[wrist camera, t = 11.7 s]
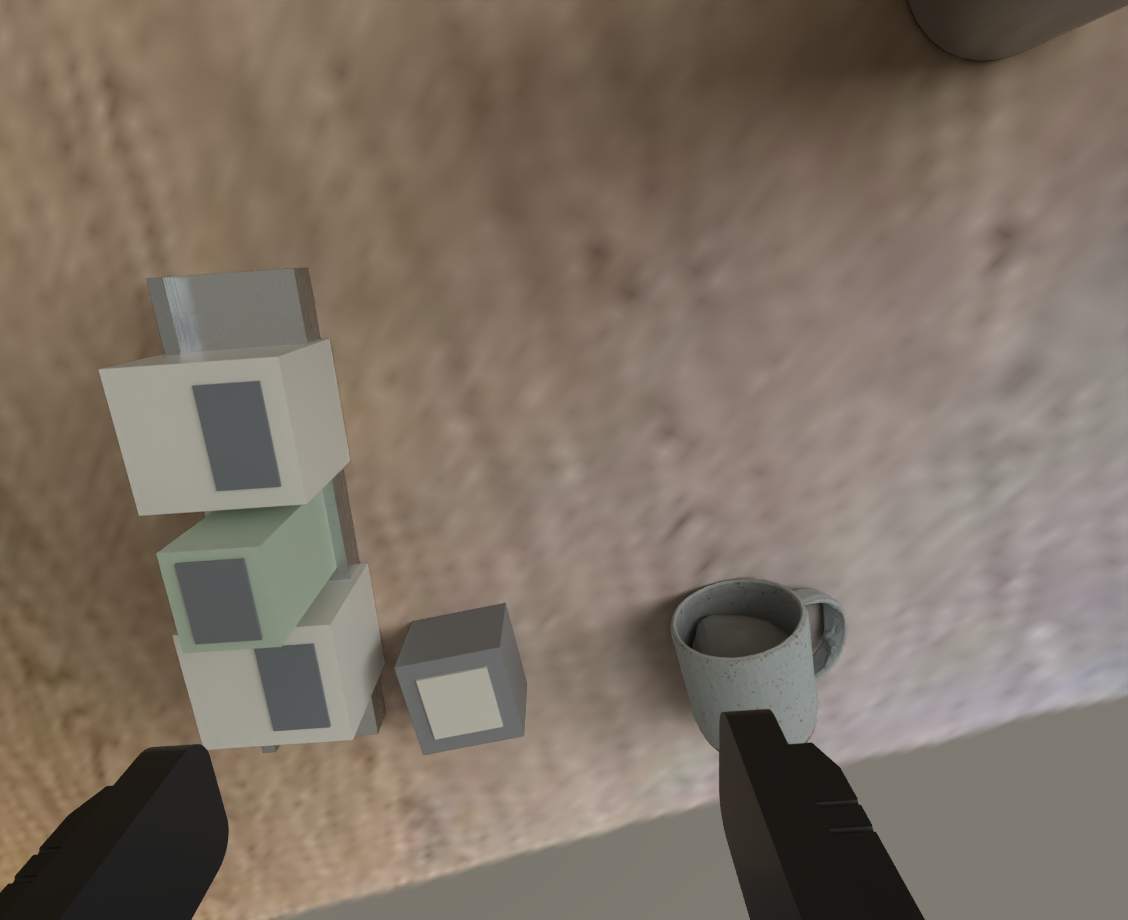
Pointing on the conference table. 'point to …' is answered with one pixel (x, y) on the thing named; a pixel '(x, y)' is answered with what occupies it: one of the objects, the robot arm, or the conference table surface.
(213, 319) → the rail
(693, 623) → the ceramic mug
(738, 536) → the conference table surface
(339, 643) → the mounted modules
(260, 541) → the module
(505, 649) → the block
